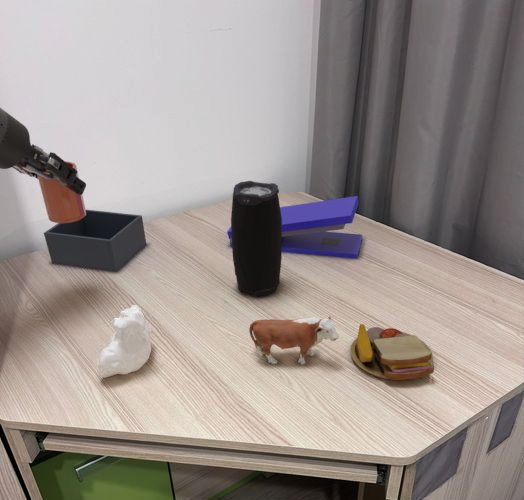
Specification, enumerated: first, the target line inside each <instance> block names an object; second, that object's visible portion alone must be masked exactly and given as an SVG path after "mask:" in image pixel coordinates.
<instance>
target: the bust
mask: <svg viewBox="0 0 524 500" xmlns="http://www.w3.org/2000/svg"><path fill="white" fill-rule="evenodd" d="M109 325H110V327H112V328H113V329H115V332H113V334H112V335H111V337H110V340H109V342H108V343H107V344H108V345H107V346H105V347H104V348H103V349H102V350H101V351H100V353H99V355H98V358H97V359H98V360H97V363H96V371H97V373H98V375H99V376H100V377H101V378H109V377H112V376H115V375H127V374H130V373H134V372H136V371H138V370H140V369H141V368H142V367H143V366H144V365H145V364H146V362H148V361H149V357H150V356H151V352H152V340H151V338H152V337H151V335H152V332H153V330H152V328H151V327H150V326H149V324H148V323H147V321H146V317H145V315H144V313H143V311H142V309H141V308H140V307H139V305H137V304H133V305H131V306H130V307H127V308H125V309H123V310H121V311H120V312H119V315H118V317H114V318H112V320H110V322H109Z"/></svg>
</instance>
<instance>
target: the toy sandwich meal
mask: <svg viewBox="0 0 524 500" xmlns="http://www.w3.org/2000/svg"><path fill="white" fill-rule="evenodd" d="M349 353H350V357H351V358H352V360H353V361H354V363H355V364H356V365H357V366H358V367H359V368H361V369H362V370H363V371H365V372H366V373H368V374H370V375H372V376H375V377H378V378H381V379H386V380H394V381H395V380H397V381H398V380H411V379H419V378H423V377H426V376H429V375H431V374H433V373H434V372H435V365H434V364H433V360H434V355H433V352H432V349H431V348H430V347H429V346H428V344H427V343H426V342H424V341H423V340H421V339H420V338H419V336H417V335H415V334H410V333H407V332H404V331H401V330H399V329H397V328H393V327H390V328H385V329H384V328H382V327H380V326H372V327H369V328H368V329H367V328H366V326H365V324H364V323H361V324H359V327H358V333H357V337H356V338H355V339H354V340H353V341H352V342H351V345H350V349H349Z"/></svg>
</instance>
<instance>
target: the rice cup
mask: <svg viewBox="0 0 524 500" xmlns="http://www.w3.org/2000/svg"><path fill="white" fill-rule="evenodd" d="M64 161H65V160H64ZM65 162H66V163H68V164H69V165H70V166H71V167H73V168H74V169H76V171H78V168H77V164H76V163H75V162H72V161H65ZM44 173H46V174H48V173H49V171H47V170H46V171H45V172H44ZM37 176H38V179H37V180H38V183H39V188H40V191H41V192H40V193H41V196H42V199H43V203H44V207H45V211H46V215H47V217H48V220H49V221H50V222H52V223H55V224H58V223H70V222H75V221H78V220H80V219H82V218H84V217H85V216H86V210H87V209H86V206H85V205H86V204H85V200H84V195H83V194H82V195H79V194H77V193H75V192H74V191H72V190H71V189H69V188H68V187H66V186H65V185H62V184H61V183H59V182H57V181H56V180H54V179H52V180H47V179H45V178H43V177H41V176H40V175H38V174H37ZM76 177H78V178H79V171H78V172H77V175H76ZM79 179H80V178H79Z"/></svg>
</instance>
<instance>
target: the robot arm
mask: <svg viewBox="0 0 524 500" xmlns="http://www.w3.org/2000/svg"><path fill="white" fill-rule="evenodd" d="M66 162H67V161H66ZM66 162H65V160H64V159H62V158H61V157H60V156H59V155H57V154H56V153H55V152H52V151H50V152H49V153H47V152H45V151H44V149H42V147H40V146H38V145H36V144H33V143H31V137H30V132H29V130H28V128H27V126H25V125H24V124H23V123H21V122H20V121H19V120H18V119H16V117H13V115H11V114H10V113H8V112H7V111H6V110H4V109H3V108H1V107H0V170H9V169H11V168H12V169H14V170H16V171H17V172H18V173H20V174H24V175H28V176H29V177H30V178H36V179H37V180H38V176H37V174H38V175H40V176H41V177H43V178H45V179H47V180H52V179H54V180H56V181H57V182H59V183H61V184H62V185H65V186H66V187H68V188H69V189H71V190H72V191H74V192H75V193H77V194H79V195H83V194H84V192H85V189H86V187H87V183H86V182H85V181H84V180H82V179H81V178H78V177H79V176H78V177H76V175H77V172H78V173H79V171H78V170H77V171H76V169H74V168H73V167H71V166H70V165H69V164H68V163H66ZM46 170H47V171H49V173H48V174H46V173H44V172H45V171H46Z"/></svg>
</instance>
